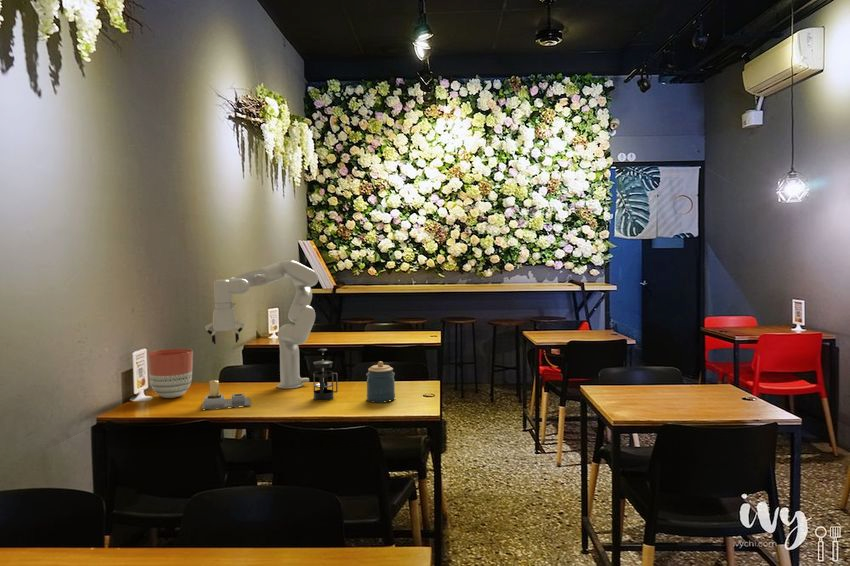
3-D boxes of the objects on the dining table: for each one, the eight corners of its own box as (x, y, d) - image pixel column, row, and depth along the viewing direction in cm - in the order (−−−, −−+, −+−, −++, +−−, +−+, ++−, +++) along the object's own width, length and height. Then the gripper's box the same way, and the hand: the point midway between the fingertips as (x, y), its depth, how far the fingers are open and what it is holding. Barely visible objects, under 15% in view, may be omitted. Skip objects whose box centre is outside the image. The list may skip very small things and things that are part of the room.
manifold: (249, 399, 267) (249, 390, 267) (250, 406, 254) (250, 397, 254) (203, 403, 261) (203, 394, 261) (201, 410, 248) (201, 401, 248)
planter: (162, 404, 260) (161, 356, 259) (141, 398, 272) (139, 352, 271) (202, 395, 275) (201, 350, 275) (180, 390, 287) (178, 347, 286)
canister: (391, 403, 257) (390, 364, 256) (363, 402, 259) (362, 363, 259) (398, 396, 270) (397, 359, 269) (371, 395, 272) (370, 358, 271)
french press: (309, 401, 263) (308, 350, 262) (314, 396, 273) (313, 347, 272) (335, 401, 263) (334, 350, 262) (339, 396, 272) (338, 347, 271)
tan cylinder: (219, 401, 258) (218, 379, 258) (219, 404, 255) (218, 381, 254) (210, 402, 257) (209, 380, 257) (209, 405, 253) (208, 382, 253)
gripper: (242, 304, 275) (244, 340, 276) (203, 306, 269) (206, 343, 270) (243, 305, 268) (245, 342, 269) (203, 308, 262) (205, 345, 263)
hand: (225, 342), depth 269 cm, fingers open, 9 cm apart
